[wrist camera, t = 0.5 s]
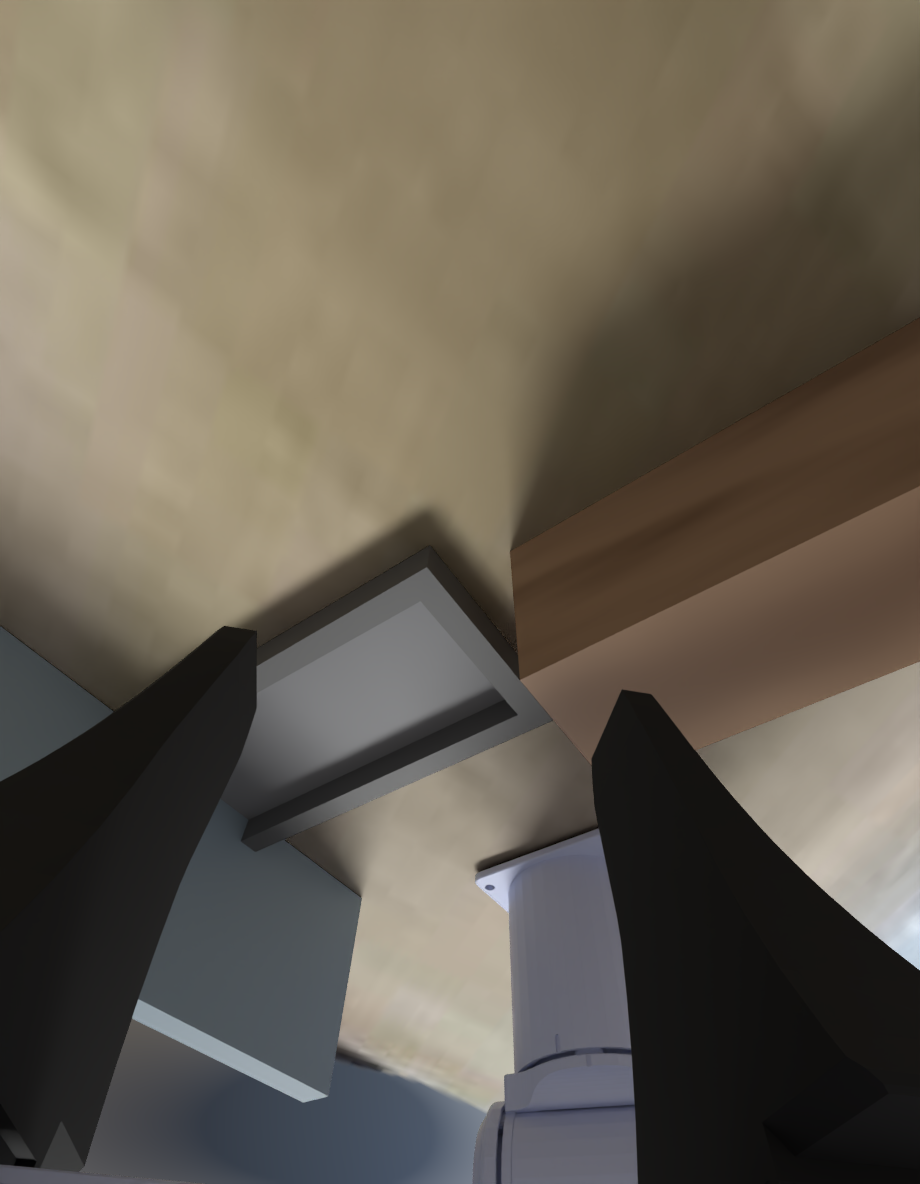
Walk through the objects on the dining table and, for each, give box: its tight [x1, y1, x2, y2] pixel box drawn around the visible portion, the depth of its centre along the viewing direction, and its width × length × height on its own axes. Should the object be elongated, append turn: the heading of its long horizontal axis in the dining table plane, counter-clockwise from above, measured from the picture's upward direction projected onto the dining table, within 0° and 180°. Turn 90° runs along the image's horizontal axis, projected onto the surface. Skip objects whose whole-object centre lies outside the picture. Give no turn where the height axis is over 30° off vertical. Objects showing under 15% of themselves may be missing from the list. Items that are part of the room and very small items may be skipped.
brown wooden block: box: [510, 318, 920, 766], centre depth 18 cm, size 5×14×7 cm, turn 125°
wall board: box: [0, 546, 553, 1102], centre depth 23 cm, size 24×18×9 cm
